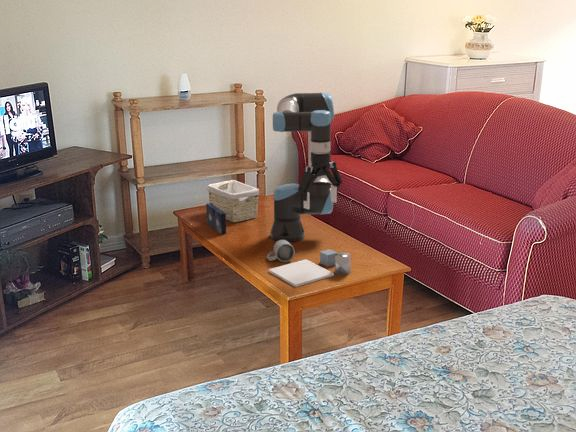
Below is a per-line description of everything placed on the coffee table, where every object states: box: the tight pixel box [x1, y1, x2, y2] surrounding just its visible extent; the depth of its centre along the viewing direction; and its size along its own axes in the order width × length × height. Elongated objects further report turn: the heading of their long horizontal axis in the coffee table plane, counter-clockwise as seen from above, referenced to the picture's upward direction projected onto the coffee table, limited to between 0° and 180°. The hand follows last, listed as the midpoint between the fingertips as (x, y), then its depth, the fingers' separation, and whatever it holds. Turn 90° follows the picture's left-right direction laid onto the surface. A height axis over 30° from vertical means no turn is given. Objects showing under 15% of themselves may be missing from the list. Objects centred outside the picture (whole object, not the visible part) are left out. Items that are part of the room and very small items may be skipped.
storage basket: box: [206, 179, 260, 223], centre depth 328 cm, size 24×16×15 cm
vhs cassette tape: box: [205, 202, 227, 235], centre depth 309 cm, size 18×3×10 cm, turn 26°
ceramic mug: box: [266, 240, 295, 263], centre depth 273 cm, size 11×8×8 cm
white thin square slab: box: [268, 259, 335, 288], centre depth 259 cm, size 18×18×1 cm
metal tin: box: [334, 252, 352, 276], centre depth 259 cm, size 6×6×7 cm
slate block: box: [319, 248, 338, 268], centre depth 268 cm, size 5×5×5 cm
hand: (320, 205), depth 263 cm, fingers open, 13 cm apart
